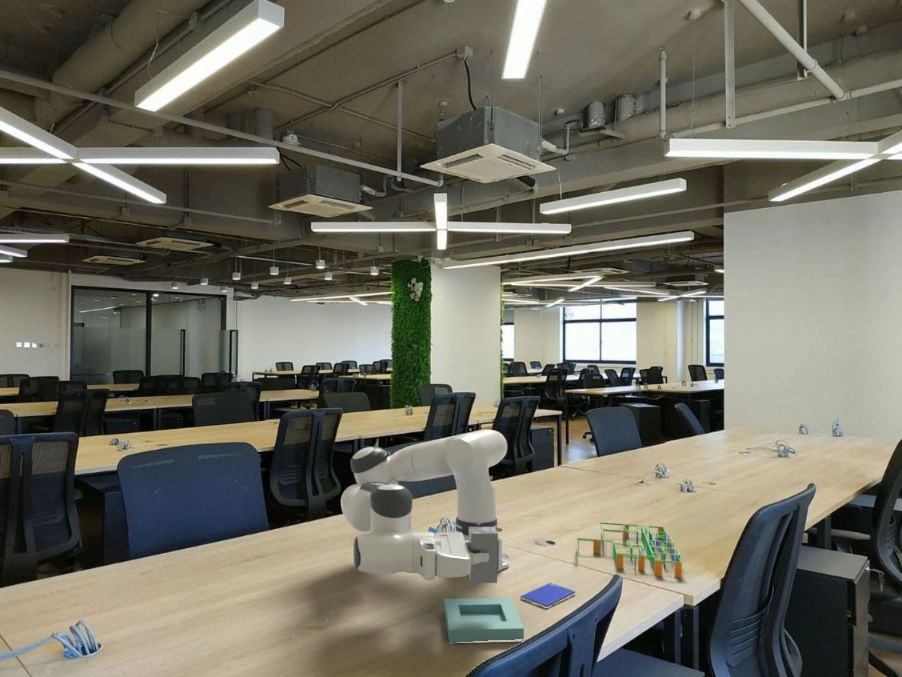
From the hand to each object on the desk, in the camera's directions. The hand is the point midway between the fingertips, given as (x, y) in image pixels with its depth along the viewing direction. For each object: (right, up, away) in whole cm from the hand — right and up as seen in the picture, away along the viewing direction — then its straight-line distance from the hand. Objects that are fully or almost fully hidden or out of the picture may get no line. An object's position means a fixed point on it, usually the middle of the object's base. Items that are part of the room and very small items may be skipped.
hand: (486, 551), depth 138 cm
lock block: (-1, -6, 0) cm, 6 cm away
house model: (+46, -19, +51) cm, 71 cm away
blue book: (+17, -18, +17) cm, 30 cm away
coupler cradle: (-1, -17, 0) cm, 17 cm away
